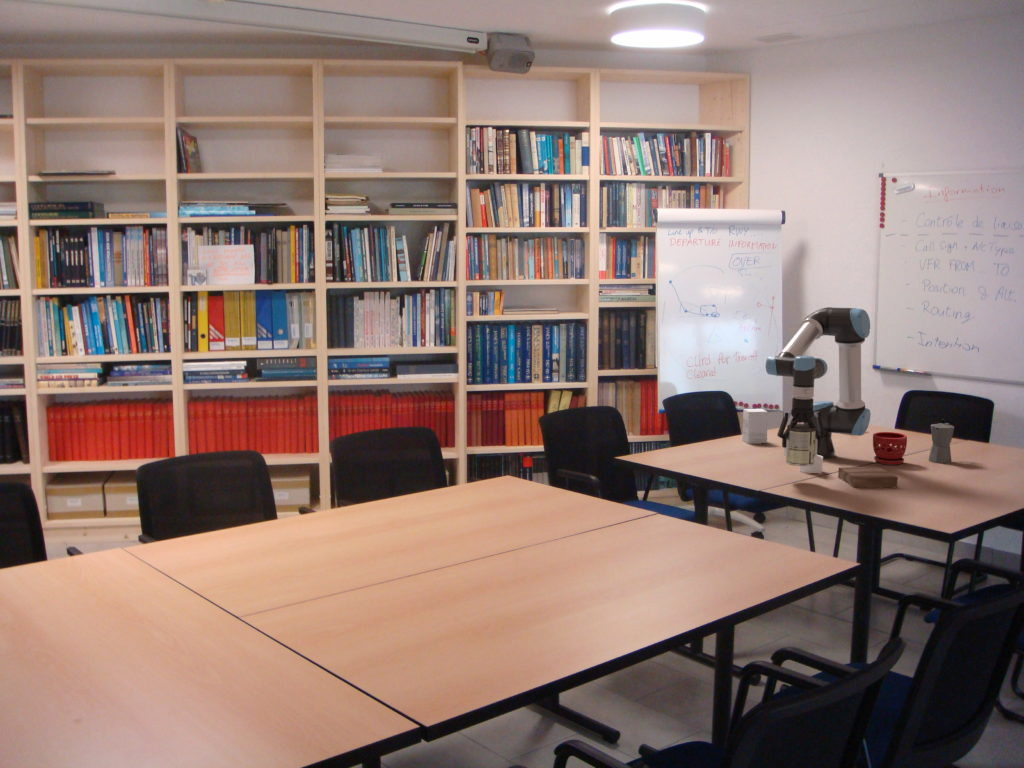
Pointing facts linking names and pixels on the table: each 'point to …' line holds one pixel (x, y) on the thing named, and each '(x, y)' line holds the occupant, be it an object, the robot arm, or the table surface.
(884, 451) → the plant pot
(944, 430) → the coffeepot
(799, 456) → the coffee can
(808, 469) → the base with upright slab
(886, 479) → the walnut plinth
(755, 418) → the supplement box
